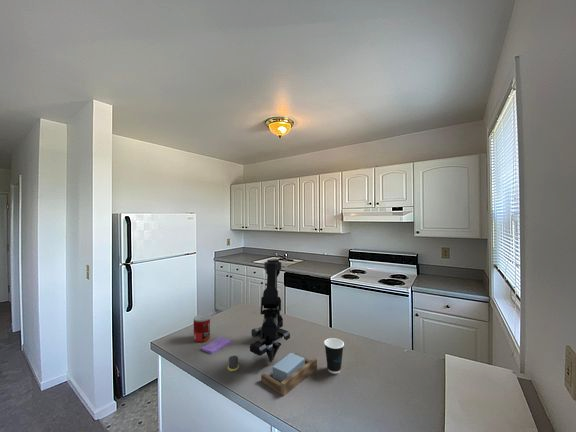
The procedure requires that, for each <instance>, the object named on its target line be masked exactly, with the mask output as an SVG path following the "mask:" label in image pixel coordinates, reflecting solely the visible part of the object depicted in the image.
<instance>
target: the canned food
mask: <svg viewBox="0 0 576 432" xmlns="http://www.w3.org/2000/svg"><path fill="white" fill-rule="evenodd" d="M210 338H211V316H210V315H209V314H197V315H196V316H194V317H193V340H194V341H195V342H196V343H205V342H207V341H209V340H210Z"/></svg>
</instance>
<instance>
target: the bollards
mask: <svg viewBox="0 0 576 432" xmlns="http://www.w3.org/2000/svg"><path fill="white" fill-rule="evenodd" d="M239 369H240V364H239V356H238V355H231V356H229V357H228V365H227V371H229V372H235V371H236V372H237V370H239Z"/></svg>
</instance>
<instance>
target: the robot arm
mask: <svg viewBox="0 0 576 432" xmlns="http://www.w3.org/2000/svg"><path fill="white" fill-rule="evenodd" d="M263 265H264V266H263V267H264V270H265V273H266V278H267V279H266V288H265V289H263V294H262V296H261V299H260V300H261V301H260V315H263V319H262V325H261V326H260V327H256V328H255V327H253V328H252V329H251V338H255V339H257V338H260V340H264V341H262V342H261V341H260V340H256V341H254V342H252V343H251V344H249V352H251V353H253V354H254V355H256V356H260V357H261V356H262V355H264V354H265V353H266V356H267V358H268V361H269V362H270V363H272V362H273V361H274V359H275V356H276V354H277V353H278V351H279V349H280V347H281V346H282V342H280V340H281V339H284V341H288V340H289V339H291V333H290V332H289V330H287V329H286V330H285V329H283V328H282V327H284V318H283V315H281V311H282V299H281V297H280V296H279V290H278V277H279V275H280V272H281V270H282V262H281V261H280V259H267V260H266V261H265V262H264V263H263Z"/></svg>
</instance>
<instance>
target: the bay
mask: <svg viewBox="0 0 576 432" xmlns="http://www.w3.org/2000/svg"><path fill="white" fill-rule="evenodd" d="M293 354H295V355H298V356H300V357H303V358H305V365H304V366H302V367H301V368H300V369H298V370H297V371H296V372H294V373H293V374H292V375H290V376H289V377H287V378H286V379H285V380H283V381H282V382H281V381H279V380H277V379H275V378H273V376H270V375H268V374H266V373H265V372H264V373H262V374H261V375H260V379H261V380H260V383H263V384H264V385H266V386H268V387H269V388H271V389H272V390H274V391H275V392H277V393H278V394H280V395H281V396H283V397H284V396H286V395H287V394H288V393H290V392H291V391H292V390H293V389H294V388H296V387H297V386H298V385H299V384H300V383H302V382H303V381H304V380H306V379H307V378H308V377H309V376H311V375H312V374H313V373H314V372H316V371H317V370H318V359H317V358H314V357H313V358H312V359H309V358H307V357H305V356H302V355H300V354H298V353H296V352H293Z"/></svg>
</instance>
